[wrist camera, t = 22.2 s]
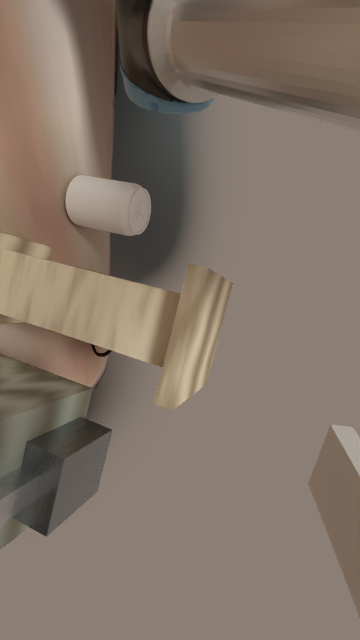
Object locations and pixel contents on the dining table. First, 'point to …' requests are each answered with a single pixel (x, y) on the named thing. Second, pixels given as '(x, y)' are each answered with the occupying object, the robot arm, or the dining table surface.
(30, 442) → the grey t-shaped bar
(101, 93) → the dining table surface
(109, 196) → the beverage can
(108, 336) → the beige grey streaked blocks
